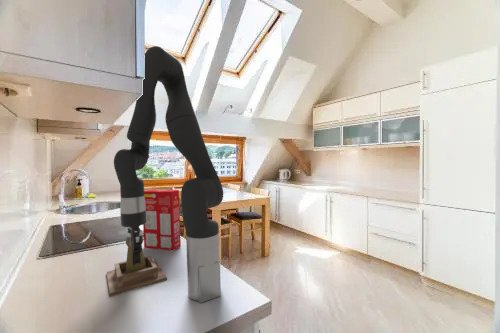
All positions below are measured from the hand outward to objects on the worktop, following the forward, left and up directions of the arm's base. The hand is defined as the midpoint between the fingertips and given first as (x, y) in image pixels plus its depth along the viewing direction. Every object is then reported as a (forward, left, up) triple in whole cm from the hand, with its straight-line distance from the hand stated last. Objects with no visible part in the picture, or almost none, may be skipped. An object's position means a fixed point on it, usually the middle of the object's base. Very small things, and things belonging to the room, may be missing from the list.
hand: (135, 261), depth 81 cm
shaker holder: (0, 0, -5) cm, 5 cm away
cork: (0, 0, -2) cm, 2 cm away
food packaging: (+23, -14, -5) cm, 28 cm away
